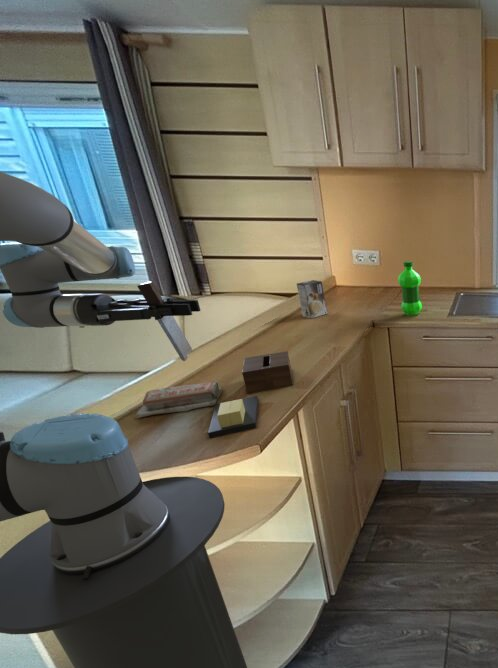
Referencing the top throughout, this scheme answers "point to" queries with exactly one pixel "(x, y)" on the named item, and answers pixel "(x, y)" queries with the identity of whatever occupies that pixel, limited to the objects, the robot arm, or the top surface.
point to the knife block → (267, 372)
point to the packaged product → (179, 398)
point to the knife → (166, 321)
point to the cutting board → (248, 423)
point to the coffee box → (312, 298)
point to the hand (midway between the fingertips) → (193, 307)
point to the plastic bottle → (410, 289)
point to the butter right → (237, 412)
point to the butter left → (224, 414)
